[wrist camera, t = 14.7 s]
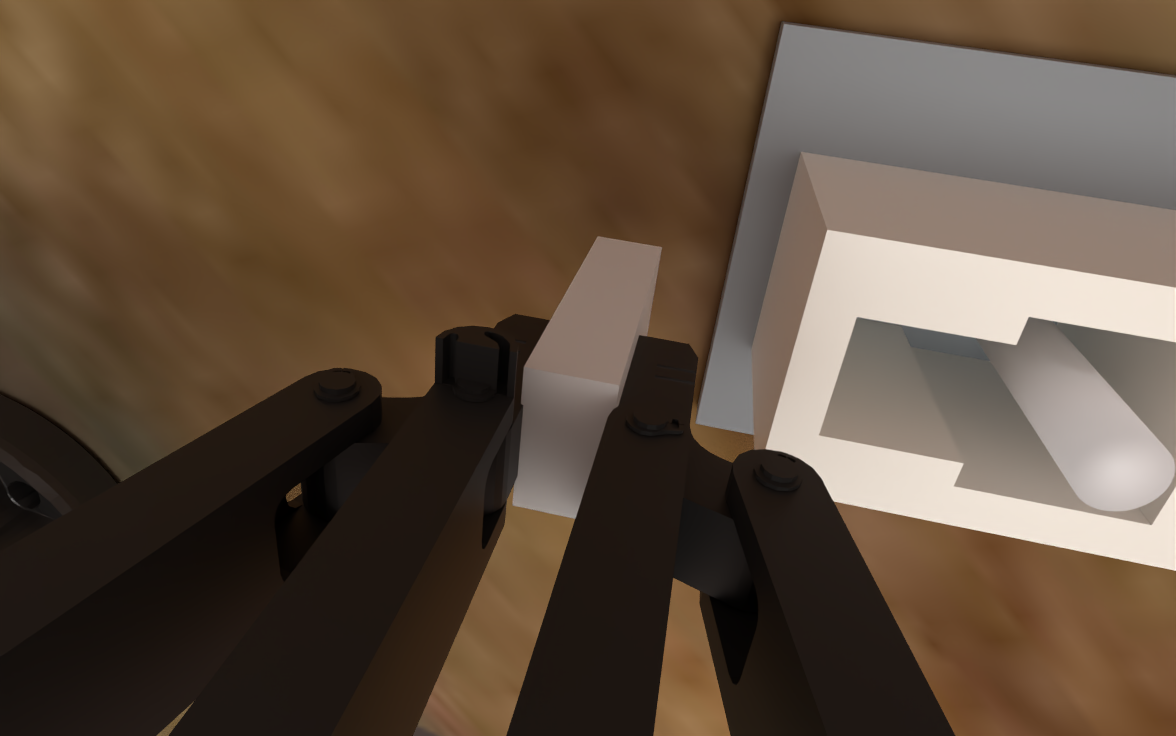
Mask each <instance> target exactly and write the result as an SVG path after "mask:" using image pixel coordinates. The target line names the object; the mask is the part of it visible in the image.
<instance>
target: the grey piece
mask: <svg viewBox="0 0 1176 736" xmlns="http://www.w3.org/2000/svg"><path fill="white" fill-rule="evenodd" d="M801 152H806V153H812V154H819V155H825V156H832V157H838V158H844V159H851V160H857V161H864V162H870V163H876V164H883V165H889V166H896V167H902V168H908V169H915V170H921V171H928V172H934V173H941V174H947V175H953V176H960V177H966V178H973V179H979V180H985V181H992V182H998V183H1005V184H1011V185H1017V186H1024V187H1030V188H1037V189H1043V190H1049V191H1056V192H1062V193H1069V194H1075V195H1081V196H1088V197H1094V198H1101V199H1107V200H1114V201H1120V202H1126V203H1133V204H1139V205H1146V206H1152V207H1158V208H1165V209H1171V210H1176V75H1170V74H1162V73H1155V72H1148V71H1140V70H1133V69H1126V68H1119V67H1111V66H1104V65H1097V64H1089V63H1082V62H1075V61H1068V60H1060V59H1053V58H1046V57H1039V56H1031V55H1024V54H1017V53H1009V52H1002V51H995V50H988V49H980V48H973V47H966V46H958V45H951V44H944V43H937V42H929V41H922V40H915V39H907V38H900V37H893V36H886V35H878V34H871V33H864V32H856V31H849V30H842V29H835V28H827V27H820V26H813V25H805V24H798V23H791V22H784V21H782V22H781V27H780V31H779V36H778V40H777V45H776V49H775V54H774V59H773V63H772V68H771V72H770V77H769V81H768V86H767V90H766V95H765V100H764V104H763V109H762V113H761V118H760V122H759V127H758V132H757V136H756V141H755V145H754V150H753V154H752V159H751V163H750V168H749V173H748V177H747V182H746V186H745V191H744V195H743V200H742V205H741V209H740V214H739V218H738V223H737V227H736V232H735V236H734V241H733V246H732V250H731V255H730V259H729V264H728V268H727V273H726V278H725V282H724V287H723V291H722V296H721V300H720V305H719V309H718V314H717V319H716V323H715V328H714V332H713V337H712V341H711V346H710V351H709V355H708V360H707V364H706V369H705V373H704V378H703V382H702V387H701V392H700V396H699V401H698V405H697V415H696V424H700V425H705V426H711V427H716V428H721V429H726V430H731V431H736V432H741V433H747V434H752V435H754V424H753V388H752V352H751V349H752V345H753V341H754V337H755V333H756V329H757V325H758V321H759V317H760V313H761V309H762V305H763V301H764V297H765V293H766V289H767V285H768V281H769V277H770V273H771V269H772V265H773V261H774V257H775V253H776V249H777V245H778V241H779V237H780V233H781V229H782V225H783V221H784V217H785V213H786V209H787V205H788V202H789V198H790V194H791V190H792V186H793V182H794V178H795V174H796V170H797V166H798V162H799V158H800V154H801ZM857 318H859V319H865V320H870V321H876V322H882V323H887V324H893V325H899V324H894V323H888V322H883V321H877V320H871V319H866V318H860V317H857ZM1057 323H1058V322H1056V321H1050V320H1044V319H1038V318H1033V317H1029V318H1028V320H1027V322H1026V324H1025V327H1024V329H1023V331H1022V333H1021V336H1020V338H1019V340H1018V342H1017V345H1012V344H1007V343H1001V342H995V341H990V340H984V339H978V338H973V337H967V336H962V335H956V334H950V333H945V332H939V331H933V330H928V329H922V328H916V327H911V326H905V325H899V326H901V327H902V329H903V331H904V333H905V336H906V338H907V340H908V342H909V344H910V347H913V348H919V349H924V350H930V351H935V352H941V353H946V354H952V355H958V356H963V357H969V358H974V359H980V360H985V361H991V363H992V365H993V366H994V368H995V369H996V371H997V372H998V374H999V375H1000V377H1001V379H1002V380H1003V382H1004V383H1005V385H1006V386H1007V388H1008V389H1009V391H1010V393H1011V394H1012V396H1013V397H1014V399H1015V400H1016V402H1017V403H1018V405H1019V406H1020V408H1021V410H1022V411H1023V413H1024V414H1025V416H1026V417H1027V419H1028V420H1029V422H1030V424H1031V425H1032V427H1033V428H1034V430H1035V431H1036V433H1037V434H1038V436H1039V438H1040V439H1041V441H1042V442H1043V444H1044V445H1045V447H1046V448H1047V450H1048V452H1049V453H1050V455H1051V456H1052V458H1053V459H1054V461H1055V462H1056V464H1057V466H1058V467H1059V469H1060V470H1061V472H1062V473H1063V475H1064V476H1065V478H1066V480H1067V481H1068V483H1069V484H1070V486H1071V487H1072V489H1073V490H1074V492H1075V494H1076V495H1077V496H1078V498H1079V499H1080V500H1081V501H1083V502H1084V503H1085V504H1087V505H1089V506H1091V507H1093V508H1096V509H1099V510H1104V511H1127V510H1132V509H1136V508H1139V507H1142V506H1144V505H1146V504H1148V503H1150V502H1152V501H1154V500H1155V499H1157V498H1158V497H1159V496H1160V495H1162V494H1163V493H1164V492H1165V491H1166V490H1167V488H1168V487H1169V486H1170V484H1171V482H1172V480H1173V478H1174V475H1175V462H1174V459H1173V457H1172V455H1171V454H1170V452H1169V451H1168V450H1167V449H1166V448H1165V446H1164V445H1163V444H1162V443H1161V442H1160V441H1159V440H1158V439H1157V437H1156V436H1155V435H1154V434H1153V433H1152V432H1151V431H1150V430H1149V429H1148V427H1147V426H1146V425H1145V424H1144V423H1143V422H1142V421H1141V420H1140V419H1139V417H1138V416H1137V415H1136V414H1135V413H1134V412H1133V411H1132V410H1131V408H1130V407H1129V406H1128V405H1127V404H1126V403H1125V402H1124V401H1123V400H1122V398H1121V397H1120V396H1119V395H1118V394H1117V393H1116V392H1115V391H1114V390H1113V388H1112V387H1111V386H1110V385H1109V384H1108V383H1107V382H1106V381H1105V379H1104V378H1103V377H1102V376H1101V375H1100V374H1099V373H1098V372H1097V371H1096V369H1095V368H1094V367H1093V366H1092V365H1091V364H1090V363H1089V362H1088V360H1087V359H1086V358H1085V357H1084V356H1083V355H1082V354H1081V353H1080V352H1079V350H1078V349H1077V348H1076V347H1075V346H1074V345H1073V344H1072V343H1071V342H1070V340H1069V339H1068V338H1067V337H1066V336H1065V335H1064V334H1063V333H1062V331H1061V330H1060V329H1059V328H1058V327H1057V326H1056V325H1057Z"/></svg>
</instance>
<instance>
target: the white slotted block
mask: <svg viewBox="0 0 1176 736" xmlns="http://www.w3.org/2000/svg"><path fill="white" fill-rule="evenodd" d="M857 317H860V318H866V319H871V320H877V321H883V322H888V323H894V324H899V325H905V326H911V327H916V328H922V329H928V330H933V331H939V332H945V333H950V334H956V335H962V336H967V337H973V338H978V339H984V340H990V341H995V342H1001V343H1007V344H1012V345H1017V342H1018V340H1019V338H1020V336H1021V333H1022V331H1023V329H1024V327H1025V324H1026V322H1027V320H1028V318H1029V317H1033V318H1038V319H1044V320H1050V321H1056V322H1058V323H1057V325H1056V326H1057V327H1058V328H1059V329H1060V330H1061V331H1062V333H1063V334H1064V335H1065V336H1066V337H1067V338H1068V339H1069V340H1070V342H1071V343H1072V344H1073V345H1074V346H1075V347H1076V348H1077V349H1078V350H1079V352H1080V353H1081V354H1082V355H1083V356H1084V357H1085V358H1086V359H1087V360H1088V362H1089V363H1090V364H1091V365H1092V366H1093V367H1094V368H1095V369H1096V371H1097V372H1098V373H1099V374H1100V375H1101V376H1102V377H1103V378H1104V379H1105V381H1106V382H1107V383H1108V384H1109V385H1110V386H1111V387H1112V388H1113V390H1114V391H1115V392H1116V393H1117V394H1118V395H1119V396H1120V397H1121V398H1122V400H1123V401H1124V402H1125V403H1126V404H1127V405H1128V406H1129V407H1130V408H1131V410H1132V411H1133V412H1134V413H1135V414H1136V415H1137V416H1138V417H1139V419H1140V420H1141V421H1142V422H1143V423H1144V424H1145V425H1146V426H1147V427H1148V429H1149V430H1150V431H1151V432H1152V433H1153V434H1154V435H1155V436H1156V437H1157V439H1158V440H1159V441H1160V442H1161V443H1162V444H1163V445H1164V446H1165V448H1166V449H1167V450H1168V451H1169V452H1170V454H1171V455H1172V457H1173V459H1174V462H1175V475H1174V478H1173V480H1172V482H1171V484H1170V486H1169V487H1168V488H1167V490H1166V491H1165V492H1164V493H1163V494H1162V495H1160V496H1159V497H1158V498H1157V499H1155V500H1154V501H1152V502H1150V503H1148V504H1146V505H1144V506H1142V507H1139V508H1136V509H1132V510H1127V511H1104V510H1099V509H1096V508H1093V507H1091V506H1089V505H1087V504H1085V503H1084V502H1083V501H1081V500H1080V499H1079V498H1078V496H1077V495H1076V494H1075V492H1074V490H1073V489H1072V487H1071V486H1070V484H1069V483H1068V481H1067V480H1066V478H1065V476H1064V475H1063V473H1062V472H1061V470H1060V469H1059V467H1058V466H1057V464H1056V462H1055V461H1054V459H1053V458H1052V456H1051V455H1050V453H1049V452H1048V450H1047V448H1046V447H1045V445H1044V444H1043V442H1042V441H1041V439H1040V438H1039V436H1038V434H1037V433H1036V431H1035V430H1034V428H1033V427H1032V425H1031V424H1030V422H1029V420H1028V419H1027V417H1026V416H1025V414H1024V413H1023V411H1022V410H1021V408H1020V406H1019V405H1018V403H1017V402H1016V400H1015V399H1014V397H1013V396H1012V394H1011V393H1010V391H1009V389H1008V388H1007V386H1006V385H1005V383H1004V382H1003V380H1002V379H1001V377H1000V375H999V374H998V372H997V371H996V369H995V368H994V366H993V365H992V363H991V361H985V360H980V359H974V358H969V357H963V356H958V355H952V354H946V353H941V352H935V351H930V350H924V349H919V348H913V347H910V344H909V342H908V340H907V338H906V336H905V333H904V331H903V329H902V327H901V326H899V325H893V324H887V323H882V322H876V321H870V320H865V319H859V318H857ZM751 352H752V388H753V424H754V450H759V449H768V450H774V451H781V452H784V453H788V454H789V455H792V456H795V457H797V458H799V459H801V460H802V461H804V462H805V463H807V464H808V465H809V466H811V467H812V468H813V469H814V470H815V471H816V472H817V474H818V475H819V476H820V477H821V479H822V480H823V482H824V484H825V486H826V488H827V490H828V492H829V494H830V496H831V498H832V500H833V501H835V502H840V503H845V504H850V505H855V506H860V507H864V508H869V509H874V510H879V511H884V512H889V513H894V514H899V515H904V516H909V517H914V518H919V519H924V520H929V521H934V522H939V523H943V524H948V525H953V526H958V527H963V528H968V529H973V530H978V531H983V532H988V533H993V534H998V535H1003V536H1008V537H1013V538H1017V539H1022V540H1027V541H1032V542H1037V543H1042V544H1047V545H1052V546H1057V547H1062V548H1067V549H1072V550H1077V551H1082V552H1087V553H1092V554H1096V555H1101V556H1106V557H1111V558H1116V559H1121V560H1126V561H1131V562H1136V563H1141V564H1146V565H1151V566H1156V567H1161V568H1166V569H1171V570H1175V571H1176V210H1171V209H1165V208H1158V207H1152V206H1146V205H1139V204H1133V203H1126V202H1120V201H1114V200H1107V199H1101V198H1094V197H1088V196H1081V195H1075V194H1069V193H1062V192H1056V191H1049V190H1043V189H1037V188H1030V187H1024V186H1017V185H1011V184H1005V183H998V182H992V181H985V180H979V179H973V178H966V177H960V176H953V175H947V174H941V173H934V172H928V171H921V170H915V169H908V168H902V167H896V166H889V165H883V164H876V163H870V162H864V161H857V160H851V159H844V158H838V157H832V156H825V155H819V154H812V153H806V152H801V154H800V158H799V162H798V166H797V170H796V174H795V178H794V182H793V186H792V190H791V194H790V198H789V202H788V205H787V209H786V213H785V217H784V221H783V225H782V229H781V233H780V237H779V241H778V245H777V249H776V253H775V257H774V261H773V265H772V269H771V273H770V277H769V281H768V285H767V289H766V293H765V297H764V301H763V305H762V309H761V313H760V317H759V321H758V325H757V329H756V333H755V337H754V341H753V345H752V349H751Z"/></svg>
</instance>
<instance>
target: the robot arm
mask: <svg viewBox="0 0 1176 736" xmlns="http://www.w3.org/2000/svg"><path fill="white" fill-rule="evenodd" d="M661 250H662V247H658V246H652V245H646V244H640V243H635V242H629V241H623V240H617V239H611V238H605V237H599V236H598V237H597V238H596V240H595V242H594V244H593V246H592V247H591V249H590V251H589V253H588V254H587V256H586V258H585V260H584V261H583V263H582V265H581V267H580V269H579V270H578V272H577V274H576V276H575V277H574V279H573V281H572V283H571V284H570V286H569V288H568V290H567V291H566V293H565V295H564V297H563V299H562V300H561V302H560V304H559V306H558V307H557V309H556V311H555V313H554V314H553V316H552V318H551V320H545V319H540V318H534V317H529V316H523V315H518V314H515V315H512V316H510V317H508V318H506V319H504V320H502V321H500V322H498V323H497V325H496V326H495V328H494V329H493V328H489V327H479V326H466V327H456V328H453V329H450V330H446V331H444V332H442V333H441V334H440V335H438V336H437V337H436V348H435V383H434V385H433V386H432V387H431V389H430V390H429V391H428V392H427V394H426V395H425V396H423V397H412V398H382V386H381V384H380V383H379V381H378V380H377V378H375V377H373V376H372V375H370V374H368V373H366V372H362V371H358V370H353V369H348V368H344V369H342V368H333V369H330V370H324V371H318V372H316V373H313V374H311V375H308V376H306V377H304V378H302V379H300V380H298V381H297V382H295V383H293V384H291V385H290V386H288V387H286V388H284V389H283V390H281V391H279V392H278V393H276V394H274V395H272V396H271V397H269V398H267V399H265V400H264V401H262V402H260V403H258V404H257V405H255V406H253V407H251V408H250V409H248V410H246V411H244V412H243V413H241V414H239V415H237V416H236V417H234V418H232V419H230V420H229V421H227V422H225V423H223V424H222V425H220V426H218V427H216V428H215V429H213V430H211V431H209V432H208V433H206V434H204V435H203V436H201V437H199V438H197V439H196V440H194V441H192V442H190V443H189V444H187V445H185V446H183V447H182V448H180V449H178V450H176V451H175V452H173V453H171V454H169V455H168V456H166V457H164V458H162V459H161V460H159V461H157V462H155V463H154V464H152V465H150V466H148V467H147V468H145V469H143V470H141V471H140V472H138V473H136V474H135V475H133V476H131V477H129V478H128V479H126V480H124V481H122V482H121V483H119V484H117V483H116V482H115V481H114V480H113V478H112V477H111V476H110V475H109V474H108V472H107V471H106V470H105V469H104V468H103V467H102V466H101V465H100V464H99V463H98V462H97V461H96V460H95V459H94V458H93V457H92V456H91V455H90V454H89V453H88V452H87V451H86V450H85V449H84V448H82V447H81V446H80V445H79V444H78V443H77V442H75V441H74V440H73V439H72V438H71V437H69V436H68V435H67V434H66V433H64V432H63V431H62V430H60V429H59V428H58V427H56V426H55V425H53V424H52V423H50V422H49V421H47V420H46V419H44V418H43V417H41V416H40V415H38V414H36V413H35V412H33V411H31V410H30V409H28V408H26V407H24V406H22V405H21V404H19V403H17V402H15V401H13V400H10V399H8V398H6V397H4V396H2V395H0V736H156V735H157V734H159V733H160V732H161V731H162V730H163V729H164V728H165V727H166V726H167V725H168V724H169V723H171V722H172V721H173V720H174V719H175V718H176V717H177V716H178V715H179V714H180V713H181V712H183V711H184V710H185V709H186V708H187V707H188V706H189V705H190V704H191V703H192V702H194V703H193V704H192V705H191V707H190V708H189V709H188V711H187V712H186V713H185V714H184V716H183V717H182V718H181V720H180V721H179V722H178V724H177V725H176V726H175V728H174V729H173V730H172V732H171V733H170V734H169V736H413V734H414V732H415V729H416V727H417V725H418V722H419V720H420V718H421V715H422V713H423V711H424V709H425V706H426V704H427V702H428V699H429V697H430V695H431V692H432V690H433V688H434V685H435V683H436V681H437V679H438V676H439V674H440V672H441V669H442V667H443V665H444V662H445V660H446V658H447V656H448V653H449V651H450V649H451V646H452V644H453V642H454V639H455V637H456V635H457V633H458V630H459V628H460V626H461V623H462V621H463V619H464V616H465V614H466V612H467V610H468V607H469V605H470V603H471V600H472V598H473V596H474V593H475V591H476V589H477V587H478V584H479V582H480V580H481V577H482V575H483V573H484V570H485V568H486V566H487V564H488V561H489V559H490V557H491V554H492V552H493V550H494V547H495V545H496V543H497V540H498V538H499V536H500V534H501V531H502V529H503V527H504V523H505V516H506V503H507V498H508V496H509V494H510V492H511V489H512V487H513V485H514V494H513V506H518V507H523V508H527V509H532V510H537V511H541V512H546V513H551V514H555V515H560V516H565V517H569V518H574V519H575V522H574V525H573V528H572V531H571V534H570V537H569V541H568V544H567V547H566V550H565V553H564V556H563V559H562V563H561V566H560V569H559V572H558V575H557V578H556V581H555V585H554V588H553V591H552V594H551V597H550V600H549V603H548V607H547V610H546V613H545V616H544V619H543V622H542V625H541V629H540V632H539V635H538V638H537V641H536V644H535V647H534V651H533V654H532V657H531V660H530V663H529V666H528V669H527V673H526V676H525V679H524V682H523V685H522V688H521V691H520V695H519V698H518V701H517V704H516V707H515V710H514V713H513V717H512V720H511V723H510V726H509V729H508V732H507V735H506V736H653V733H654V725H655V717H656V709H657V701H658V693H659V685H660V677H661V669H662V661H663V653H664V645H665V637H666V629H667V621H668V614H669V606H670V598H671V590H672V582H673V578H675V579H677V580H679V581H681V582H683V583H685V584H687V585H689V586H691V587H693V588H695V589H697V590H699V591H700V607H701V612H702V616H703V620H704V624H705V629H706V633H707V637H708V641H709V646H710V650H711V654H712V658H713V663H714V667H715V671H716V675H717V680H718V684H719V688H720V692H721V697H722V701H723V705H724V709H725V714H726V718H727V722H728V726H729V731H730V735H731V736H955V734H954V732H953V730H952V728H951V726H950V725H949V723H948V721H947V719H946V717H945V715H944V713H943V711H942V709H941V707H940V705H939V703H938V701H937V700H936V698H935V696H934V694H933V692H932V690H931V688H930V686H929V684H928V682H927V680H926V678H925V677H924V675H923V673H922V671H921V669H920V667H919V665H918V663H917V661H916V659H915V657H914V655H913V653H912V652H911V650H910V648H909V646H908V644H907V642H906V640H905V638H904V636H903V634H902V632H901V630H900V628H899V627H898V625H897V623H896V621H895V619H894V617H893V615H892V613H891V611H890V609H889V607H888V605H887V603H886V602H885V600H884V598H883V596H882V594H881V592H880V590H879V588H878V586H877V584H876V582H875V580H874V578H873V577H872V575H871V573H870V571H869V569H868V567H867V565H866V563H865V561H864V559H863V557H862V555H861V554H860V552H859V550H858V548H857V546H856V544H855V542H854V540H853V538H852V536H851V534H850V532H849V530H848V529H847V527H846V525H845V523H844V521H843V519H842V517H841V515H840V513H839V511H838V509H837V507H836V505H835V504H834V502H833V500H832V498H831V496H830V494H829V492H828V490H827V488H826V486H825V484H824V482H823V480H822V479H821V477H820V476H819V475H818V474H817V472H816V471H815V470H814V469H813V468H812V467H811V466H809V465H808V464H807V463H805V462H804V461H802V460H801V459H799V458H797V457H795V456H792V455H789V454H788V453H784V452H781V451H774V450H768V449H759V450H749V451H747V452H745V453H742V454H740V455H739V456H738V457H737V458H736V459H735V461H734V462H733V463H731V462H729V461H726V460H724V459H722V458H720V457H718V456H716V455H714V454H712V453H710V452H708V451H707V450H706V449H704V448H703V447H701V446H700V445H699V444H698V442H697V441H696V440H695V439H694V438H693V436H692V434H691V429H690V418H691V410H692V402H693V395H694V387H695V379H696V371H697V363H698V357H697V356H696V354H695V353H694V351H693V349H692V348H691V346H690V345H689V344H685V343H680V342H674V341H669V340H664V339H658V338H653V337H647V333H648V327H649V321H650V315H651V309H652V303H653V298H654V292H655V286H656V280H657V274H658V268H659V262H660V256H661ZM299 483H301V491H302V494H300V495H299V496H297V497H296V498H295V499H293V500H291V501H289V502H287V500H286V494H287V493H288V492H289V491H290V490H291V489H292V488H294V487H295V486H296V485H298V484H299Z"/></svg>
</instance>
